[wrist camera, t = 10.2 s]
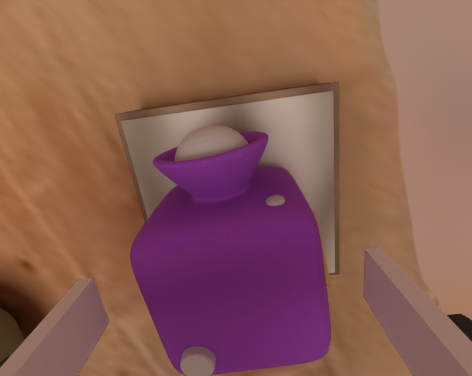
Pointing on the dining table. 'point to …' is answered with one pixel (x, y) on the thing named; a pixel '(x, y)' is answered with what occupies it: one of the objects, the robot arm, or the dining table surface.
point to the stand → (245, 120)
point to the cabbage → (9, 335)
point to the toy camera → (232, 259)
